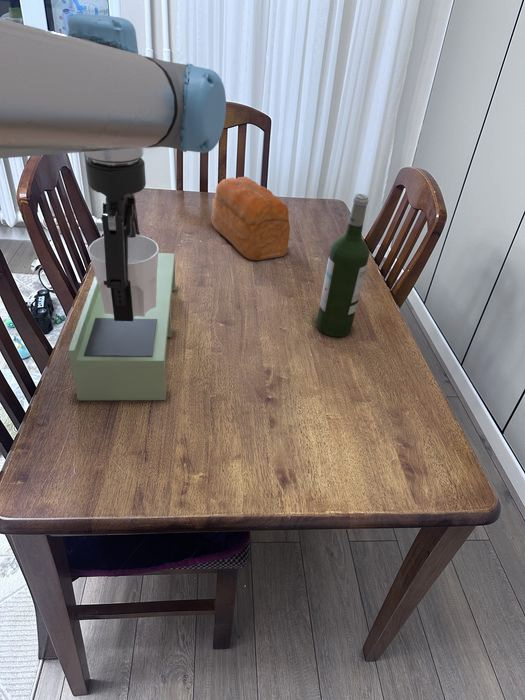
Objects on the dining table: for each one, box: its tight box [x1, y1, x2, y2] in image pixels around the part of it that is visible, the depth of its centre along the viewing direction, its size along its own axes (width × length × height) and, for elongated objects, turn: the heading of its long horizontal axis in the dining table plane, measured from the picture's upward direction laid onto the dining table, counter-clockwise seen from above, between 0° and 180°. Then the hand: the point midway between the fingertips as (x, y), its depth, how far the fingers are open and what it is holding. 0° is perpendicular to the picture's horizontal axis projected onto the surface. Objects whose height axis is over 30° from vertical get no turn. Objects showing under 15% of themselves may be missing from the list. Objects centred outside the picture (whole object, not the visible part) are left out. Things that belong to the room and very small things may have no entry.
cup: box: [87, 234, 160, 317], centre depth 75 cm, size 10×10×10 cm
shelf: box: [67, 252, 177, 401], centre depth 97 cm, size 39×15×11 cm, turn 5°
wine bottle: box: [316, 193, 370, 338], centre depth 100 cm, size 8×8×30 cm
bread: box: [210, 176, 291, 261], centre depth 137 cm, size 14×27×15 cm, turn 29°
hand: (128, 300), depth 78 cm, fingers closed on cup, 10 cm apart
